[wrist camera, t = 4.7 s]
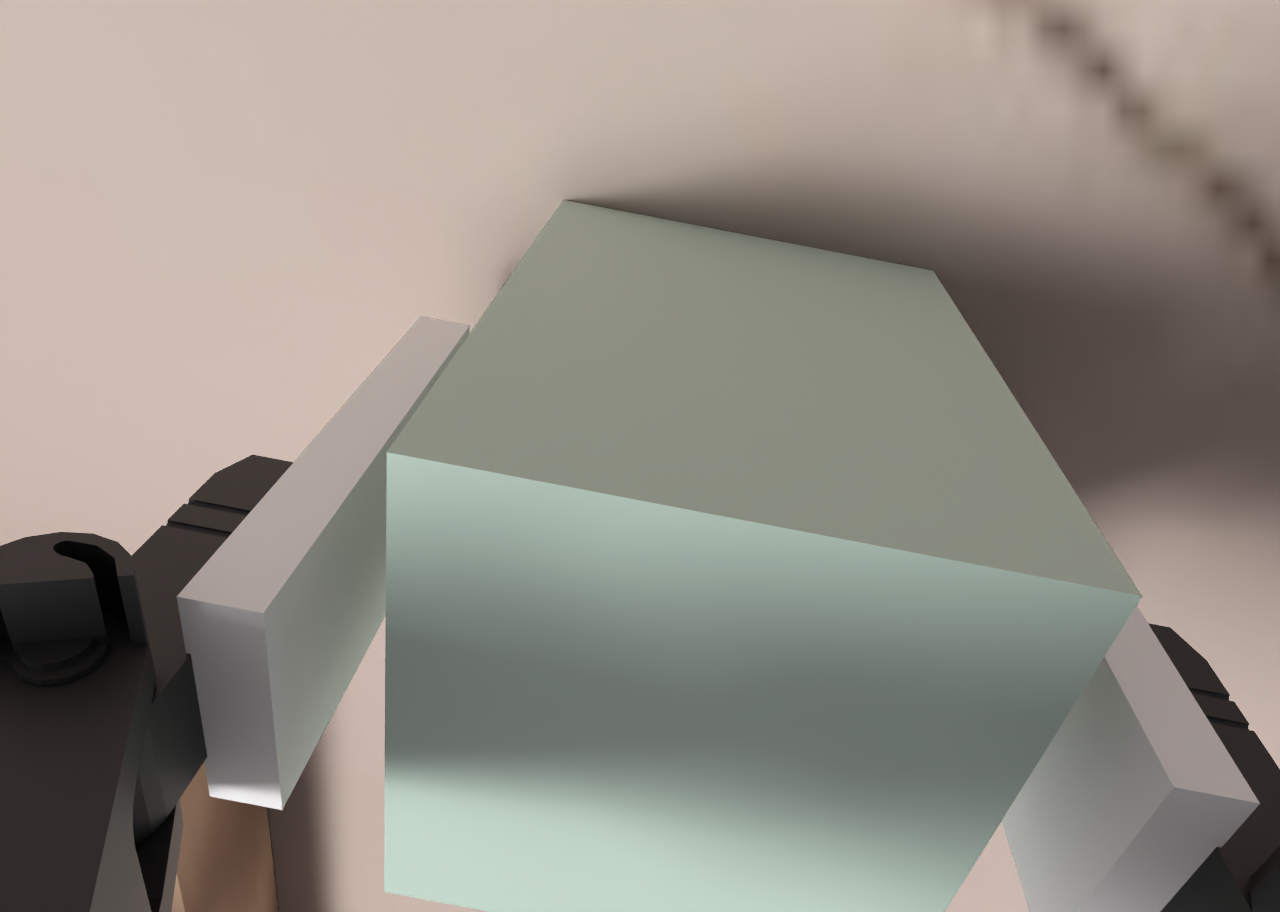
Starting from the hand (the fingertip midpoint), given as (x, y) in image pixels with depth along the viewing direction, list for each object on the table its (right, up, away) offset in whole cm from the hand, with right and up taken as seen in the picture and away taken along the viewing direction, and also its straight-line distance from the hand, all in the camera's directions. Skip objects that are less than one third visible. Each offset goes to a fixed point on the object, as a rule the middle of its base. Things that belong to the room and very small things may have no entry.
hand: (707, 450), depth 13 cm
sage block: (0, +1, +2) cm, 2 cm away
